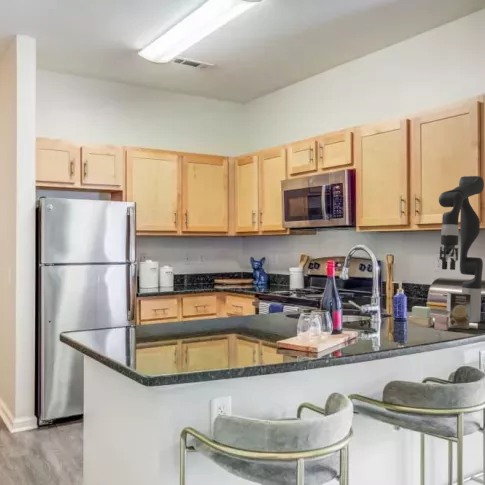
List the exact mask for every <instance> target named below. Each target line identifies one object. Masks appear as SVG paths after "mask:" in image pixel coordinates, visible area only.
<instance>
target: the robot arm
mask: <svg viewBox="0 0 485 485" xmlns="http://www.w3.org/2000/svg"><path fill="white" fill-rule="evenodd" d="M484 188H485V182H484V179H483V177H482V176H479V175H477V176H476V175H473V176H472V175H469V176H465V175H464V176H461V177H460V179H459V182H458V186H456V187H455V188H453V189H450V190H446V191H444V192H442V193H441V194H440V195H439V197H438V203H439V205H440V206H441V207H442V208H452V209H451V210H450V211H446V212H444V213H442V218H441V219H442V220H441V222H442V223H441V228H440V229H441V232H440V234H441V235H440V245H442V246H440V247H439V260H441V269H442V270H448V260H449V261H450V262H449V270H451V271H455V270H456V263H457V262H458V261H459V272H460V274H462V275H464V276H465V275H466V276H467V275H468V276H474V277H473V278H471V279H469V280H466V281H464V282H462V283H461V287H462V288H461V294H470V295H471V298H470V319H469V323H480V322H481V307H482V306H481V305H482V304H481V303H482V278H483V269H484V267H483V266H484V262H483V259H482V258H481V257H472V256H471V257H469V256H468V253H469V251H470V248H471V246H472V245H473V243H474V242H475V241H476V239H477V238H478V236H479V234H480V231H481V230H480V224H481V223H480V222H481V221H480V218H479V216H478V214H477V212H476V211H475V209H473V207H472V204H471V202H470V200H469V198H470V197H472V196H474V195H479V194H481V193H482V192H483V190H484ZM459 216H460V217H459ZM459 218H460V219H459ZM459 220H460V221H459ZM459 222H460V223H459ZM459 224H460V225H459ZM459 226H460V227H459ZM459 228H460V231H459ZM459 233H460V253H459V247H456V246H459ZM459 254H460V256H459Z"/></svg>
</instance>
